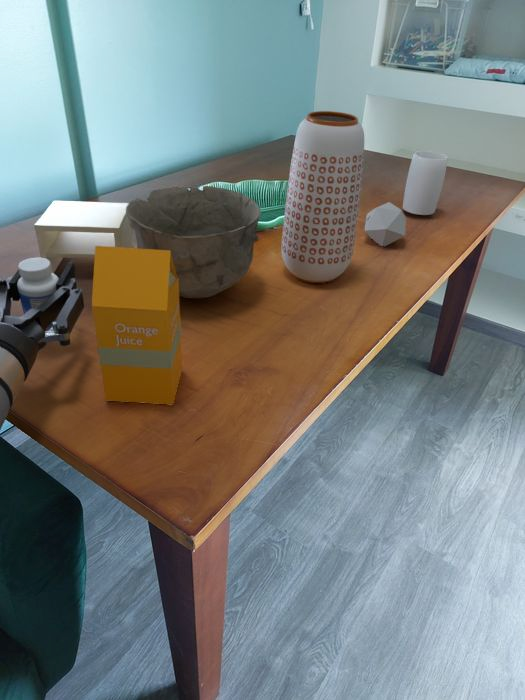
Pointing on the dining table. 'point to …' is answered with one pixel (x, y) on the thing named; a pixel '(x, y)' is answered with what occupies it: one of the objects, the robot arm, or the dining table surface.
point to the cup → (424, 182)
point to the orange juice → (137, 324)
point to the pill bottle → (36, 283)
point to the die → (385, 224)
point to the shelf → (81, 229)
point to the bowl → (199, 234)
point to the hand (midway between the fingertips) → (50, 270)
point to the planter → (323, 196)
